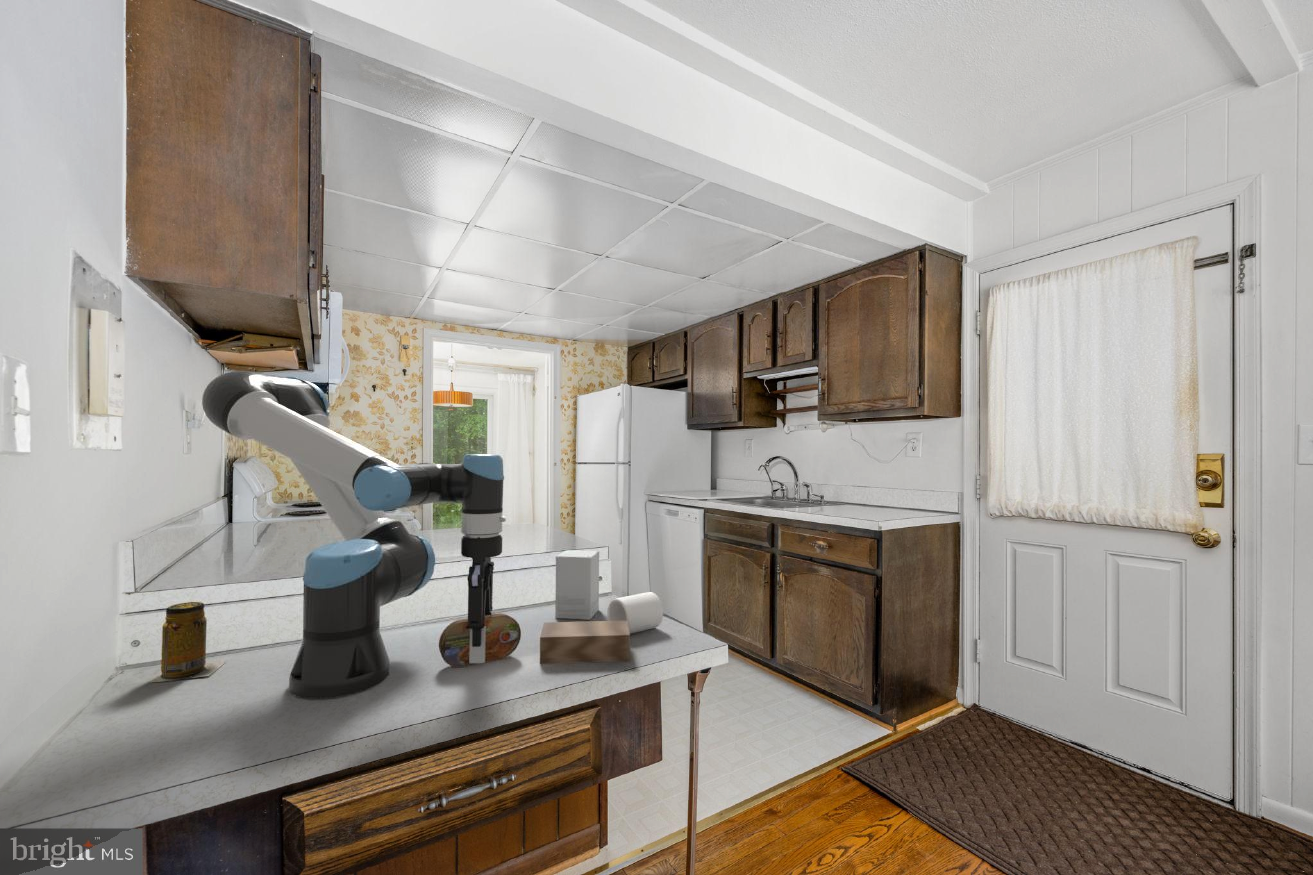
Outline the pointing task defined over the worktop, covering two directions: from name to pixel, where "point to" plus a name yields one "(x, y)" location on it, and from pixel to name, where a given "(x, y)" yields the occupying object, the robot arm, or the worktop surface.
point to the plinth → (584, 642)
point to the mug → (637, 611)
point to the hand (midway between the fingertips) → (479, 657)
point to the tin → (498, 640)
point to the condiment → (185, 643)
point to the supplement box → (577, 584)
